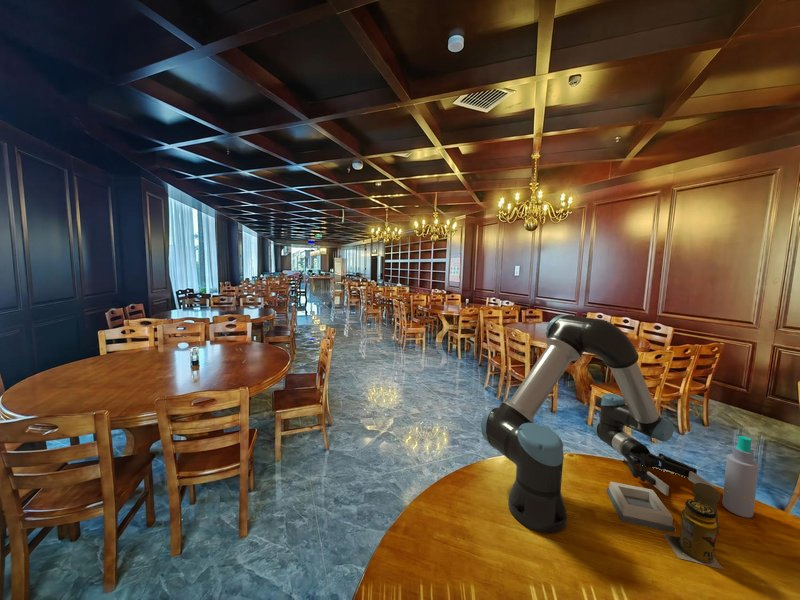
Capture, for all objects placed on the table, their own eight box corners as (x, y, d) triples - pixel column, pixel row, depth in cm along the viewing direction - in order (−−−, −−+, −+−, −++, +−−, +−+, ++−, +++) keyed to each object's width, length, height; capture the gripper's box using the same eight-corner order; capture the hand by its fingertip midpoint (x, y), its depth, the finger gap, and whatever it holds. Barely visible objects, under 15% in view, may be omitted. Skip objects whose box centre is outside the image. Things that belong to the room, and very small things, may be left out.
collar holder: (621, 521, 83) (622, 507, 83) (606, 492, 95) (607, 480, 94) (674, 533, 80) (676, 519, 79) (652, 501, 91) (653, 489, 91)
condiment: (723, 569, 70) (728, 520, 69) (678, 558, 72) (682, 511, 71) (702, 543, 77) (707, 498, 76) (662, 534, 79) (666, 491, 78)
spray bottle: (755, 522, 84) (764, 446, 82) (724, 511, 88) (731, 438, 86) (749, 509, 89) (757, 437, 87) (720, 499, 92) (727, 430, 91)
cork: (725, 536, 79) (729, 496, 78) (698, 532, 80) (702, 492, 79) (707, 518, 85) (711, 481, 84) (682, 514, 86) (685, 477, 85)
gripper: (663, 458, 109) (729, 502, 88) (596, 459, 108) (647, 503, 87) (664, 438, 108) (732, 477, 87) (597, 438, 107) (649, 478, 86)
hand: (690, 490), depth 87 cm, fingers open, 13 cm apart
